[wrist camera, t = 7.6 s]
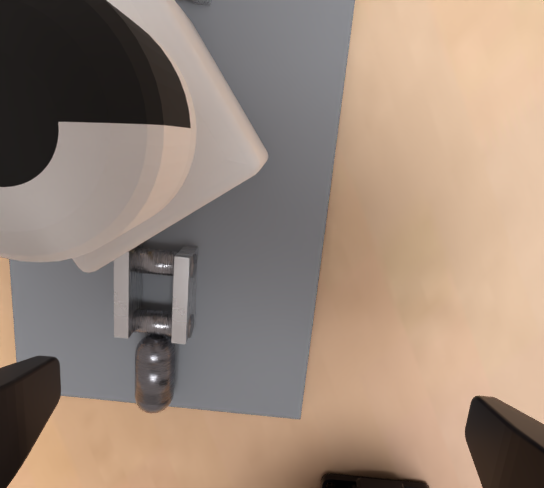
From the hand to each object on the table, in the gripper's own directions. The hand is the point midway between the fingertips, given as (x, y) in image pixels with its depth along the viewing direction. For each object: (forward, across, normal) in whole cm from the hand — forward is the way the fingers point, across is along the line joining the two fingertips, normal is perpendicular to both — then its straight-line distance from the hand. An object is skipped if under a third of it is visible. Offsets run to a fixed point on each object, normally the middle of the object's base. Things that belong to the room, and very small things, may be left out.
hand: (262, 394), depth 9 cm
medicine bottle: (+12, +6, -6) cm, 15 cm away
